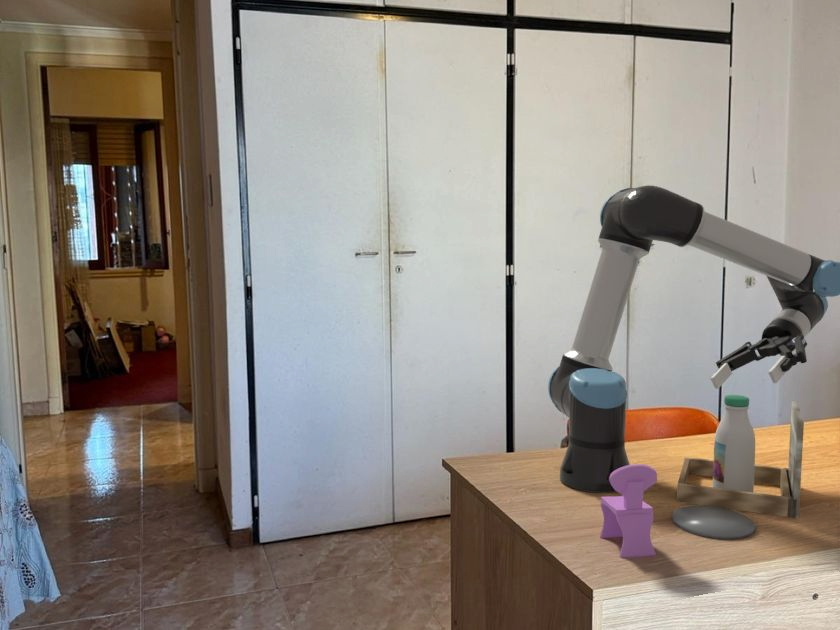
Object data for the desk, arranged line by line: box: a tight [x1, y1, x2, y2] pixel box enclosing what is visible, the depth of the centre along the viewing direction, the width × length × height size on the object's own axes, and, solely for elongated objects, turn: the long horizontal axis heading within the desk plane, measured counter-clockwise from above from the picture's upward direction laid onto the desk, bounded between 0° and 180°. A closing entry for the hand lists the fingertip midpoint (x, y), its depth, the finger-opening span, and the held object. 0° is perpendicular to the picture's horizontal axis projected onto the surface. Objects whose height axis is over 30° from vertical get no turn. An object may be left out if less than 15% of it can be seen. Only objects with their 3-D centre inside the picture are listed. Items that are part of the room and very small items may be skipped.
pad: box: [671, 504, 756, 540], centre depth 134 cm, size 14×14×1 cm
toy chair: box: [599, 463, 658, 558], centre depth 124 cm, size 8×9×15 cm
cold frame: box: [676, 400, 805, 519], centre depth 149 cm, size 22×20×18 cm
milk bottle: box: [712, 394, 756, 493], centre depth 149 cm, size 8×8×20 cm
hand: (742, 380), depth 154 cm, fingers open, 13 cm apart
